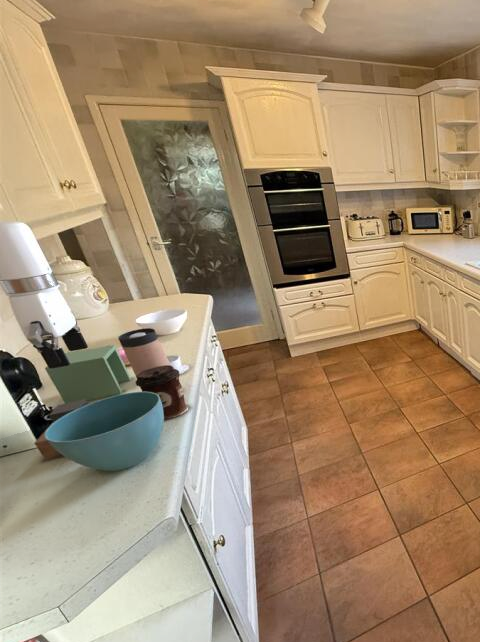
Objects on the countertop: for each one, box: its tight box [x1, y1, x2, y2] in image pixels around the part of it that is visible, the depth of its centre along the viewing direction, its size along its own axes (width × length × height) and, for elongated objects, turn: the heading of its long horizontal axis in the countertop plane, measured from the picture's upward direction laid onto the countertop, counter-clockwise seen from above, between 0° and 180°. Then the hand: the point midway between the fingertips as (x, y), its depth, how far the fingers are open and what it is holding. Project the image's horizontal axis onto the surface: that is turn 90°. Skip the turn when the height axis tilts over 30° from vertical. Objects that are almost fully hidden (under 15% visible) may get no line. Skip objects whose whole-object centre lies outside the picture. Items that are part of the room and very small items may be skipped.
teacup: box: [166, 354, 190, 375], centre depth 126 cm, size 10×10×5 cm
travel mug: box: [118, 328, 170, 379], centre depth 110 cm, size 8×8×20 cm
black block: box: [48, 399, 90, 423], centre depth 93 cm, size 5×5×5 cm
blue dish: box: [44, 391, 165, 472], centre depth 87 cm, size 18×18×12 cm
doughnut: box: [117, 348, 131, 366], centre depth 136 cm, size 11×11×4 cm
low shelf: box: [34, 422, 65, 461], centre depth 95 cm, size 12×9×5 cm
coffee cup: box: [135, 365, 189, 420], centre depth 104 cm, size 9×8×13 cm
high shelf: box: [44, 344, 132, 403], centre depth 115 cm, size 12×10×12 cm
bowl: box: [135, 308, 188, 336], centre depth 158 cm, size 16×16×7 cm
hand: (70, 357), depth 88 cm, fingers open, 9 cm apart
